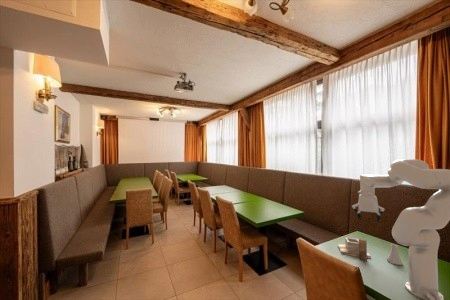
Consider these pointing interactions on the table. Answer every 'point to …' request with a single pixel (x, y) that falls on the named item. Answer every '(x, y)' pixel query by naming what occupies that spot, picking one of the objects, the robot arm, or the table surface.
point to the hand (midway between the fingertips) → (368, 220)
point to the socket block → (351, 247)
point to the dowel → (363, 249)
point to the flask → (394, 256)
